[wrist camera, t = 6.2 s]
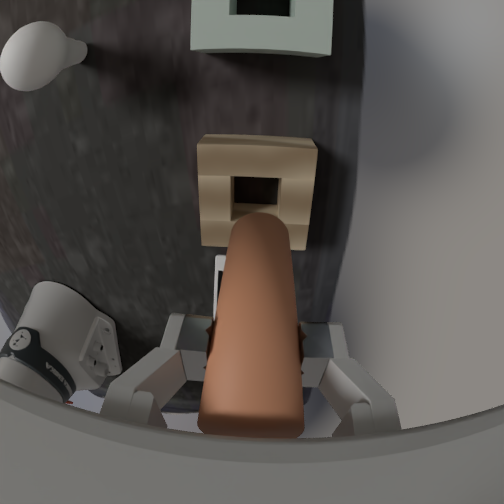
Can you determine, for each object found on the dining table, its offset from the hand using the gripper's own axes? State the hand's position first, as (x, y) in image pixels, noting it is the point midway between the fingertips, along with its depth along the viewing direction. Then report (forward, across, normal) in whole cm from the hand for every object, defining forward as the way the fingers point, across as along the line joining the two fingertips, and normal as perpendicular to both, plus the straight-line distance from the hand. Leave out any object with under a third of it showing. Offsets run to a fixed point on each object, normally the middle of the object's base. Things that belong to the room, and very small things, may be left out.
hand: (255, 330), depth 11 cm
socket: (+22, -1, +15) cm, 26 cm away
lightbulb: (+22, -19, +12) cm, 31 cm away
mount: (+22, 0, -3) cm, 22 cm away
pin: (+6, 0, 0) cm, 6 cm away
